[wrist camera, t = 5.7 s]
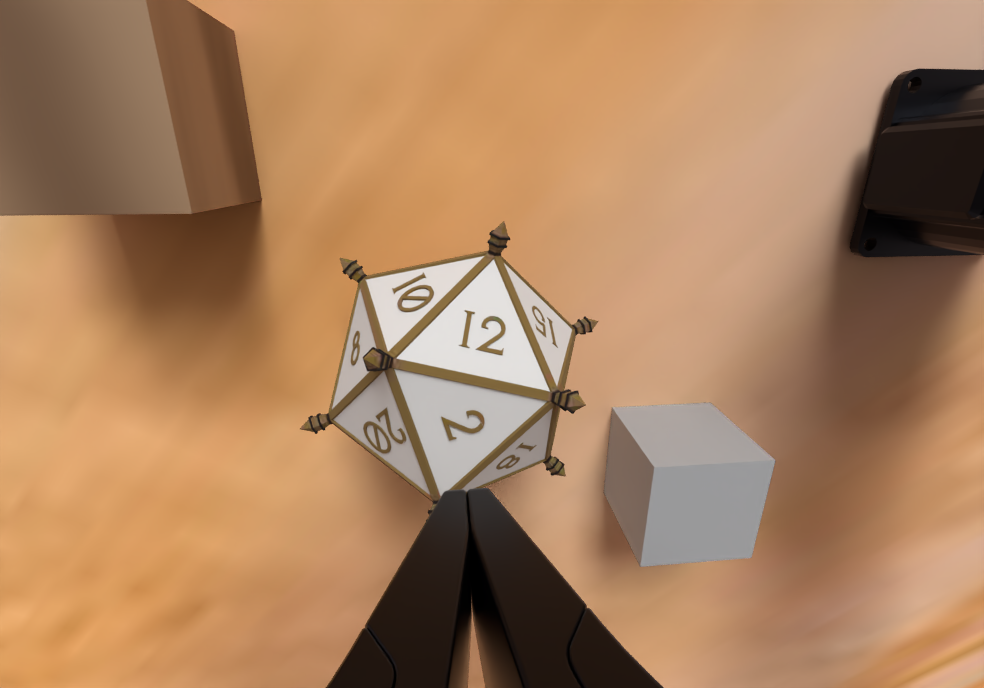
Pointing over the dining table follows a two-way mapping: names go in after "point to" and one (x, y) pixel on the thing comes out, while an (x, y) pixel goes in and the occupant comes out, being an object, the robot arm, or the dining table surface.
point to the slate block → (685, 483)
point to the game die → (453, 371)
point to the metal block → (120, 110)
